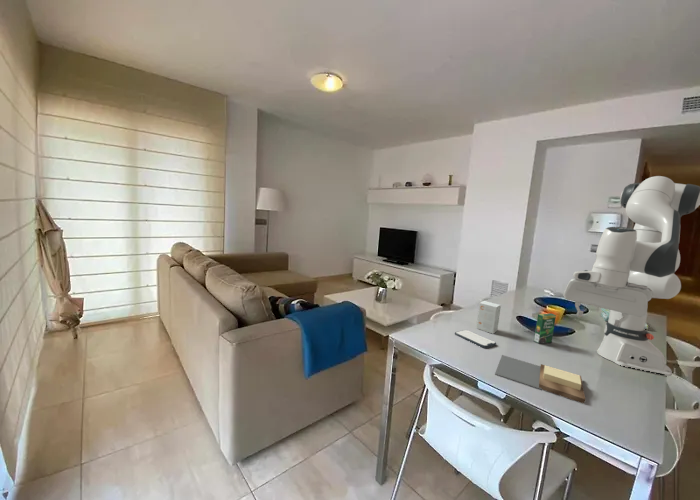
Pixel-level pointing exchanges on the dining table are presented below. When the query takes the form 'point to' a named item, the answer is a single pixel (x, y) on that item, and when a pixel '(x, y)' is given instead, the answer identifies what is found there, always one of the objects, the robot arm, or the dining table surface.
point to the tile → (562, 377)
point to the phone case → (476, 339)
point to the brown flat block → (561, 388)
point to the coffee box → (544, 328)
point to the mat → (519, 371)
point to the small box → (488, 316)
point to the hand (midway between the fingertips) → (597, 321)
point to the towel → (606, 313)
